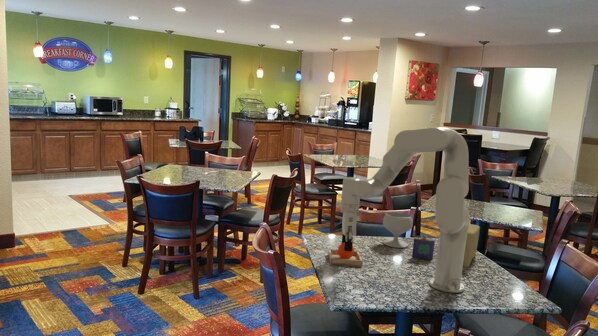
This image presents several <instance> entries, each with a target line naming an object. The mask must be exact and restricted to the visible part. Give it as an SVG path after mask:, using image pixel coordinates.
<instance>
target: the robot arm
mask: <svg viewBox="0 0 598 336" xmlns="http://www.w3.org/2000/svg"><path fill="white" fill-rule="evenodd" d="M393 140H394V141H393V145H392V146H391V148H390V149H388V151H387V152H386V153H385V154H384V155H383V157H382V164H381V166H380V168H379V169H378V170H377V171H376V173H375V174H374V175H373V176H372V177H371V178H368V179H364V180H361V179H360V178H358V177H354V176H346V177H344V178H343V180H342V189H341V198H340V199H341V201H340V211H341V212H342V221H341V223H342V225H341V228H342V229H341V231H342V235H341V244H342V243H345V247H344V250H345V251H352V247H353V248H354V246H353V245H354V238H353V236H354V237H356V235H357V221H358V220H357V217H358V216H357V213H360V200H361V199H363V200H369V199H373V198H375V197H378V196H380V195H382V193H384V191H385V190H386V189H387V188H388V187H389V186H390V185H391V184H392V183H393V182H394V180H395V179H396V177H397V176H398V175H399V173H400V172H401V170H402V169H403V168H404V167H405V166H406V165H407V164H408V163H409V162H410V160H412V159H413V157H414V156H415V155H416V154H417V153H431V152H441V151H443V153H444V164H443V167H444V168H443V169H444V170H443V178H441V180H439V182H438V183H437V185H436V190H435V213H434V214H435V215H434V216H435V224H436V226H437V228H438V229H439V236H438V244H437V251H436V258H435V259H436V260H435V266H434V267H435V268H434V269H435V270H434V275H433V278H430V279H429V283H428V284H429V285H430V286H431V287H432V288H433V289H435V290H438V291H441V292H446V293H450V294H451V293H453V294H454V293H462V292H464V291H465V285H464V284H463V283H462V276H463V275H462V274H463V267H464V265H463V260H464V252H465V245H466V238H467V233H468V228H469V224H471V223H470V220H471V216H470V215H471V214H470V212H469V210H468V209H467V207H466V206H465V203H464V201H465V197H467V195H468V193H469V190H470V189H469V187H470V184H469V178H470V177H469V175H470V173H469V172H470V170H469V169H470V167H469V166H470V165H469V164H470V163H469V162H470V161H469V159H470V158H469V147H468V143H467V141H466V139H465V138H464V136H462V134H460V132H458V131H456V130H455V129H452V128H450V127H443V126H440V127H427V128H420V129H419V128H418V129H408V130H407V129H406V130H401V131H400V132H398V133H397V135H395V137H394V139H393Z"/></svg>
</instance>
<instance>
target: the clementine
mask: <svg viewBox="0 0 598 336" xmlns="http://www.w3.org/2000/svg"><path fill="white" fill-rule="evenodd" d="M344 247H345V243H342V242H341V243H340V245H338V247H337V250H338V254H339V256H340V257H341V258H343V259H349V258H351V257H352V256H353V254H354V251H355V247H354V246H353V247H352V251H345V250H344Z"/></svg>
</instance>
